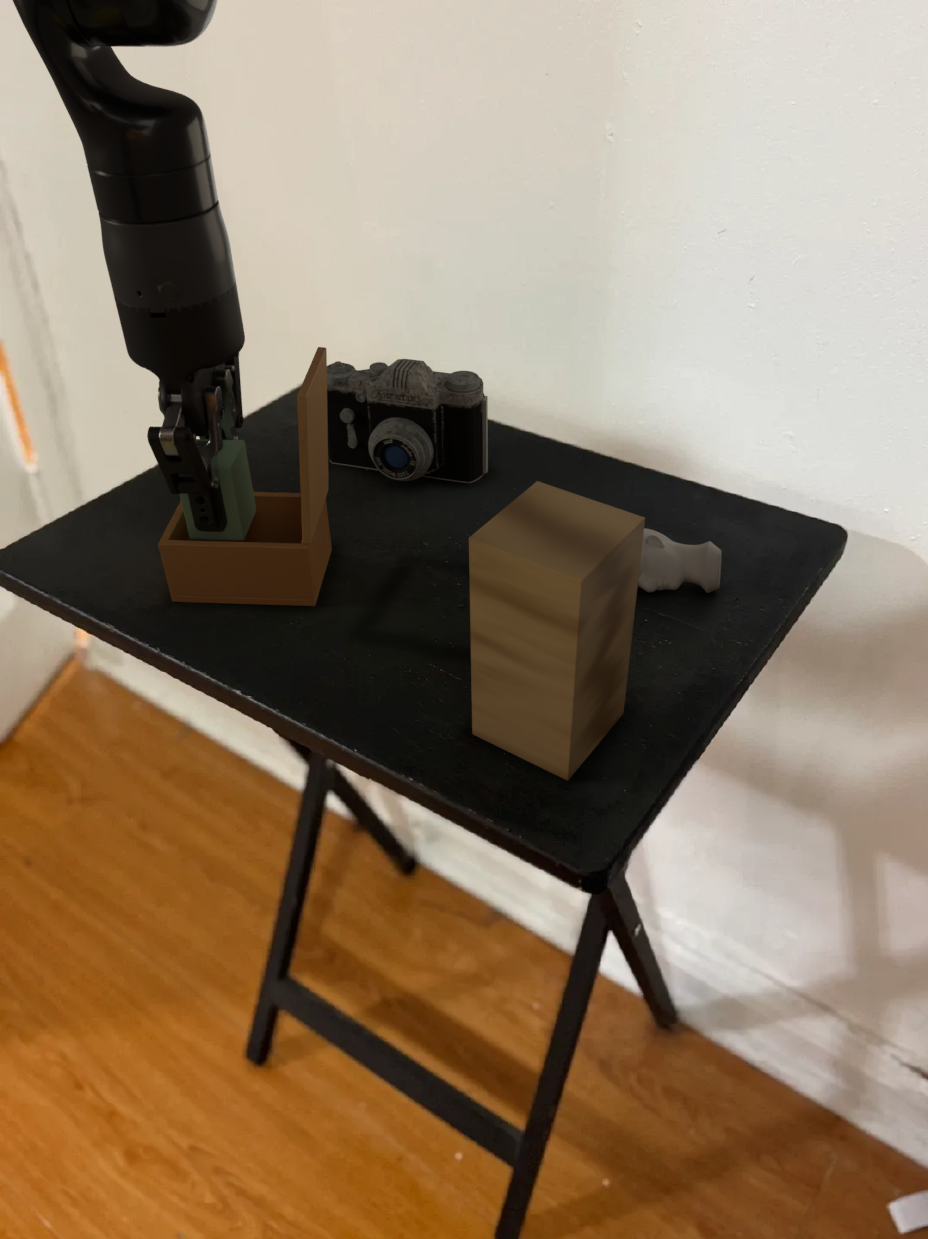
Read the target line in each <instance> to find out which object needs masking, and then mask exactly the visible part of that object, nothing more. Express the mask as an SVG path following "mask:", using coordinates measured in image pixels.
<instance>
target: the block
mask: <svg viewBox="0 0 928 1239" xmlns="http://www.w3.org/2000/svg"><path fill="white" fill-rule="evenodd" d="M196 441H209V439H200V438H196ZM246 448H247V447H246V443H245V440H244V439H239V440H223V449H222V450H221V451H220V452H219V453H218V454H217V461H218V471H219V477H220V482H219V483H220V487H221V492H222V497H223V502H224V507H225V512H226V517H227V525H226V528H225V530H224V531H222V532H204V531H199V530H197V529H196V527H195V525H194V520H193V516H192V511H191V507H190V502H189V498H188V494H181V493H180V494H179V497H180V502H182V506H183V511H184V515H185V519H186V524H187V528H188V533H189V537H190V539H199V540H237V541H244V539H245V537H246V534H247V532H248V530H249V527H250V525H251V522H252V520H253V518H254V515H255V513H256V505H255V499H254V493H253V492H254V488H253V482H252V476H251V471H250V465H249V460H248V453H247V449H246ZM201 458H202V460H203V463H204V465H205V459H204V457H202V456H201ZM205 468H206V465H205Z"/></svg>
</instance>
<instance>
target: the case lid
mask: <svg viewBox="0 0 928 1239" xmlns="http://www.w3.org/2000/svg"><path fill="white" fill-rule="evenodd" d="M327 357H328V355H327V347H324V346H318V347H317V348H316V351H315V353H314V355H313V358H312V360H311V363H310V365H309V368H308V370H307V372H306V374H305V377H304V379H303V380H302V384H301V386H300V388H299V391H298V392H297V395H296V396H297V397H296V398H297V399H296V400H297V426H298V427H297V428H298V453H299V454H298V456H299V482H300V483H299V485H300V493H301V515H302V542H303V543H305V544H311V541H312V538H313V535H314V532H315V529H316V526H317V523H318V520H319V517H320V514H321V511H322V508H323V505H324V502H325V499H326V500H327V495H328V492H329V458H328V420H327V366H328V364H327V360H328V358H327Z"/></svg>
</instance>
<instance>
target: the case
mask: <svg viewBox="0 0 928 1239" xmlns="http://www.w3.org/2000/svg"><path fill="white" fill-rule="evenodd" d="M253 493H254V499H255V505H256V513H255V515H254V518H253V520H252V522H251V525H250V527H249V530H248V532H247V534H246V537H245V539H244V541H237V540H199V539H190V537H189V533H188V528H187V524H186V519H185V515H184V511H183V506H182V502H181V501H180V502H179V504H178V505H177V507H176V509H175V511H174V512H173V514H172V516H171V519H170V521H169V523H168V524H167V527H166V528H165V530H164V532H163V534H162V536H161V538H160V540H159V541H158V544H157V546H158V550H159V553H160V558H161V562H162V565H163V569H164V574H165V579H166V582H167V586H168V590H169V594H170V598H171V602H172V603H199V604H200V603H201V604H229V605H231V604H232V605H233V604H234V605H262V606H264V605H266V606H267V605H268V606H294V607H295V606H298V607H316V604H317V601H318V598H319V594H320V591H321V587H322V584H323V582H324V578H325V575H326V570H327V567H328V564H329V561H330V557H331V554H332V549H333V548H332V540H331V531H330V523H329V514H328V507H327V498H326V499H325V502H324V505H323V508H322V511H321V514H320V517H319V520H318V523H317V526H316V529H315V532H314V535H313V538H312V541H311V544H305V543H303V542H302V515H301V492H278V491H277V492H270V491H253Z"/></svg>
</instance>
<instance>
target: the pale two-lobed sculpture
mask: <svg viewBox="0 0 928 1239" xmlns="http://www.w3.org/2000/svg"><path fill="white" fill-rule="evenodd" d="M722 557H723V554H722V549H721V548H719V547H718V546H717V545H715V543H713V542H712V541H710V540H708V541H706V542H704V543H701V544H686V543H685V544H684V543H680V542H676V541H673V540H672V539H671V538H669V537H668V536H667V535H665V534H663V533H661V532H658V531H656V530H654V529H652V528H651V529H650V528H645V527H644V533H643V542H642V551H641V560H640V569H639V578H638V587H637V589H639V588H641V589H642V590H644V591H645V592H647V593H654V592H655V591H664V590H671V591H676V590H677V589H679V588H680V587H681V585H682V584H683V583H689V584H693V585H697V586H699V587H700V588H702V589H703V590H704V591H705V593H706V594H709V593H711V592H714V591H717V590H718V589H720V585H721V576H722V560H723V558H722Z"/></svg>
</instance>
